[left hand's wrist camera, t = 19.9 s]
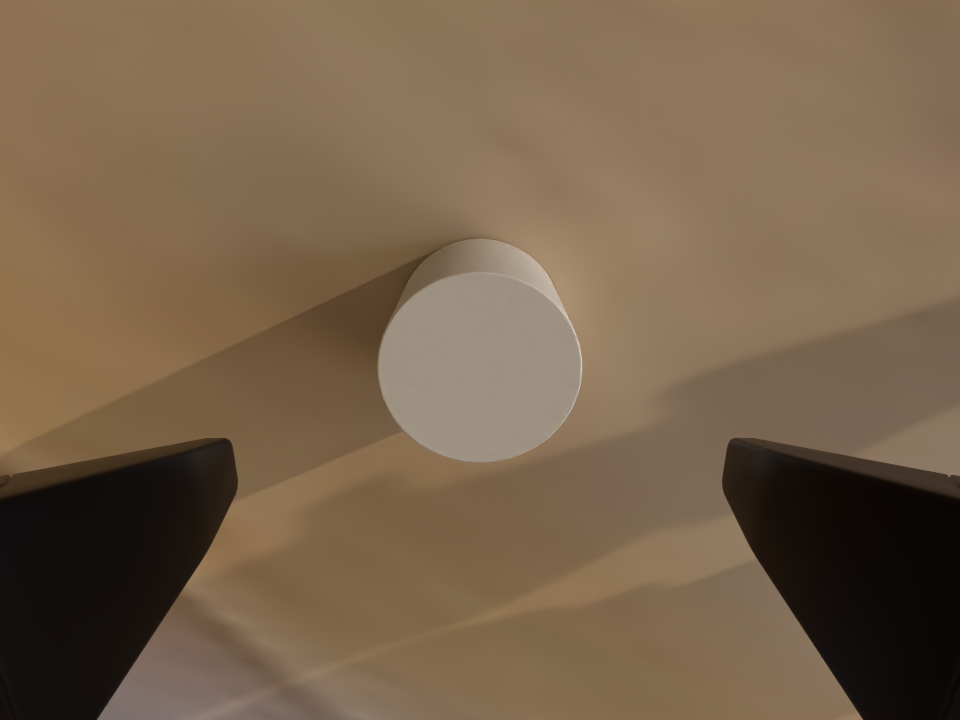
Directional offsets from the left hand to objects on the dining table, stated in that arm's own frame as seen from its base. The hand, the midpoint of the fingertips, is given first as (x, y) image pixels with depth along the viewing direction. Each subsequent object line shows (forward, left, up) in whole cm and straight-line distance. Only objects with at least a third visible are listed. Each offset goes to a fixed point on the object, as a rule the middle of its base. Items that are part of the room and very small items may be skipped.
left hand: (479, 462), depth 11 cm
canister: (0, 0, -9) cm, 9 cm away
